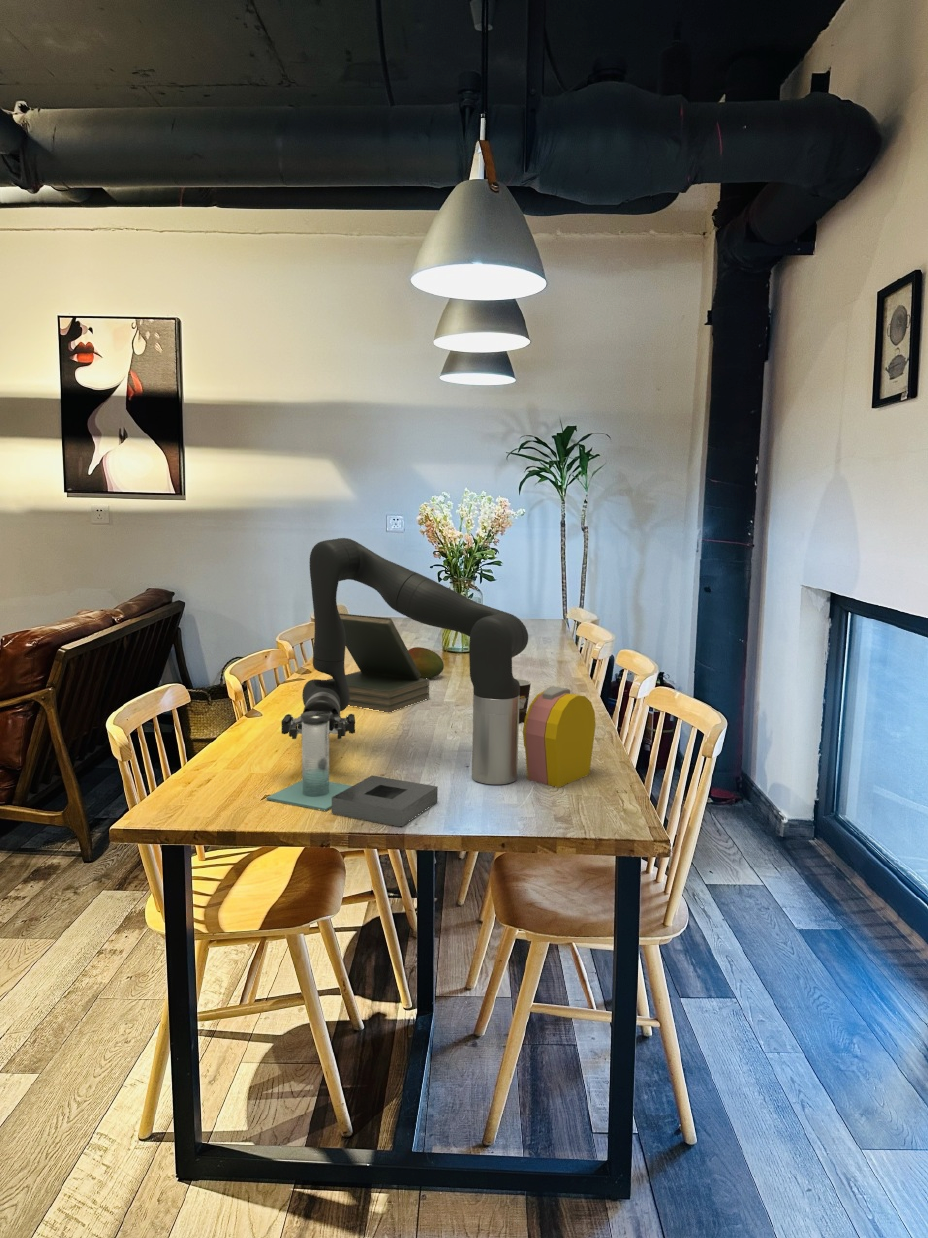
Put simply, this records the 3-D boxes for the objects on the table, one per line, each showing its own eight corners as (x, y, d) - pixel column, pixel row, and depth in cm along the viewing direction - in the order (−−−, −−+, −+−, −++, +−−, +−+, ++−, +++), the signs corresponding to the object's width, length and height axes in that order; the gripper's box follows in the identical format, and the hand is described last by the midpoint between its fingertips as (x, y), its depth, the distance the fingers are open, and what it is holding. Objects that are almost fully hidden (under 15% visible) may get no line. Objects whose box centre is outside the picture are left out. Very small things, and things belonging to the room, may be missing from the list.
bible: (429, 700, 242) (430, 612, 239) (389, 714, 225) (389, 620, 222) (363, 690, 254) (363, 606, 250) (320, 703, 237) (320, 613, 233)
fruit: (398, 676, 274) (398, 645, 273) (434, 673, 279) (434, 643, 278) (411, 683, 264) (411, 651, 262) (448, 680, 269) (449, 649, 268)
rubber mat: (307, 780, 170) (307, 777, 170) (363, 790, 165) (363, 787, 165) (266, 800, 159) (266, 797, 159) (325, 811, 153) (325, 808, 153)
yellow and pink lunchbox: (560, 764, 184) (563, 680, 182) (593, 772, 179) (597, 685, 176) (519, 780, 173) (522, 691, 170) (553, 789, 167) (557, 697, 165)
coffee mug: (527, 716, 225) (528, 678, 224) (531, 724, 217) (532, 685, 215) (483, 715, 225) (484, 678, 223) (485, 724, 216) (486, 685, 215)
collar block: (371, 790, 165) (371, 775, 165) (437, 802, 159) (437, 786, 159) (331, 813, 152) (331, 797, 152) (401, 827, 147) (401, 810, 146)
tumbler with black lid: (319, 785, 166) (318, 709, 164) (336, 792, 162) (336, 714, 160) (295, 791, 162) (294, 714, 160) (312, 799, 158) (312, 719, 156)
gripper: (286, 695, 178) (278, 714, 162) (356, 695, 180) (354, 714, 164) (287, 730, 179) (278, 753, 163) (356, 730, 181) (354, 752, 165)
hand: (316, 733), depth 163 cm, fingers open, 8 cm apart
